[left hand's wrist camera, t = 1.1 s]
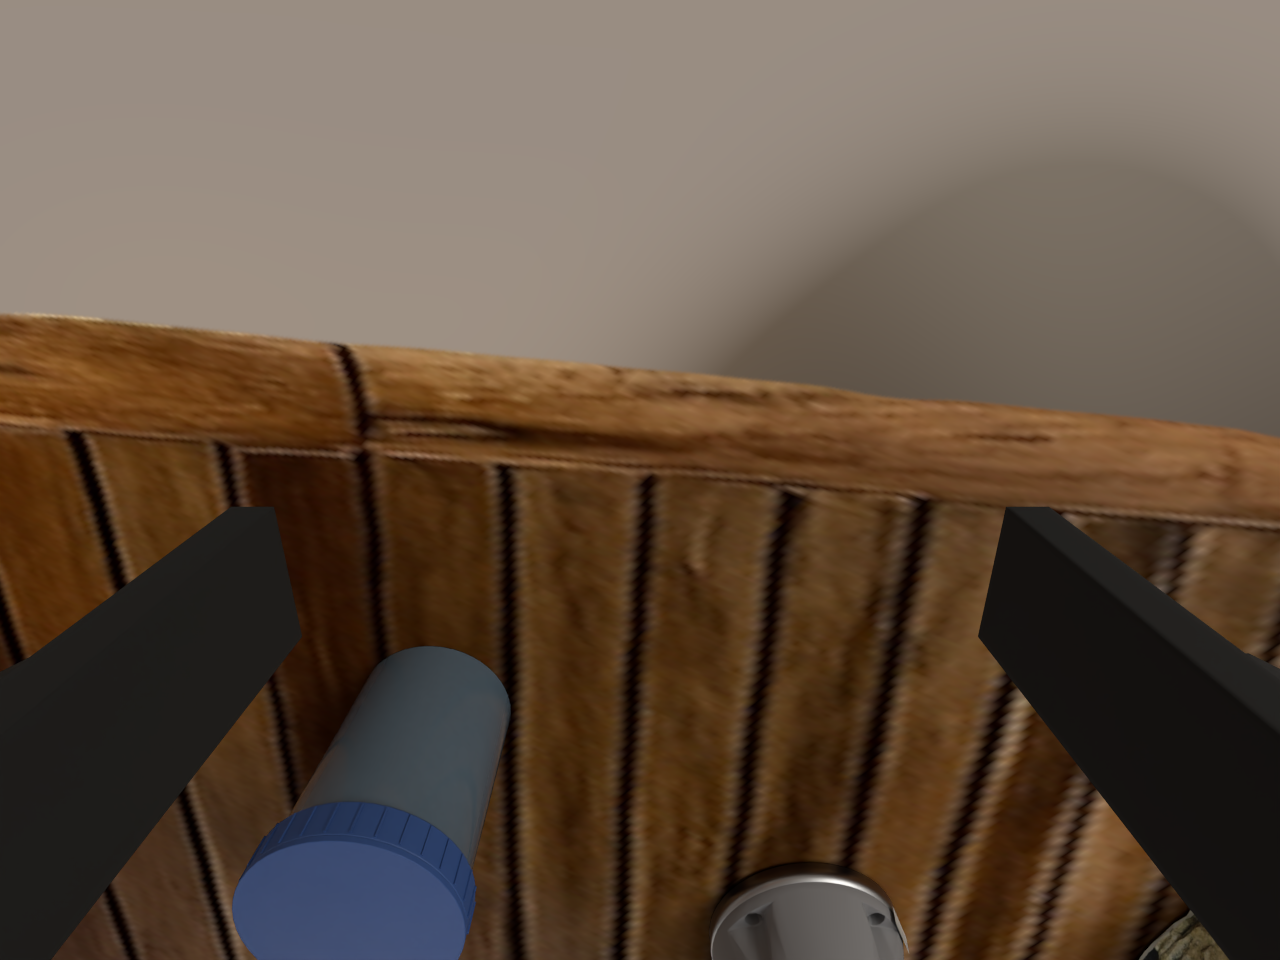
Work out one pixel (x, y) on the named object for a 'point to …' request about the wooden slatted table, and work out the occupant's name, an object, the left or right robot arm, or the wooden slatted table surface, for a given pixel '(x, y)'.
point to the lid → (355, 888)
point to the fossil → (1184, 943)
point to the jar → (420, 743)
